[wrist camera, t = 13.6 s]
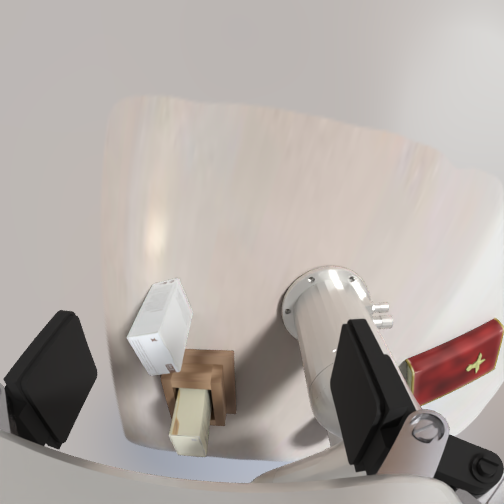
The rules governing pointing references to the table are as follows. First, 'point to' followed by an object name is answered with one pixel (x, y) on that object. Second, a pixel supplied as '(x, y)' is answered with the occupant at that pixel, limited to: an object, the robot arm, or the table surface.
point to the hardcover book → (454, 362)
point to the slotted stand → (205, 381)
